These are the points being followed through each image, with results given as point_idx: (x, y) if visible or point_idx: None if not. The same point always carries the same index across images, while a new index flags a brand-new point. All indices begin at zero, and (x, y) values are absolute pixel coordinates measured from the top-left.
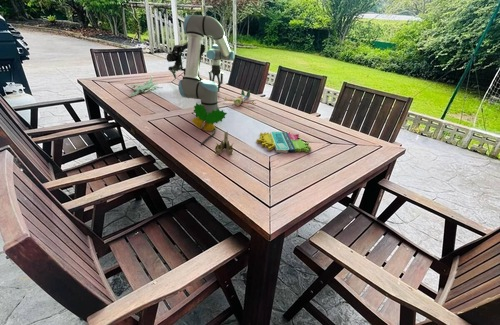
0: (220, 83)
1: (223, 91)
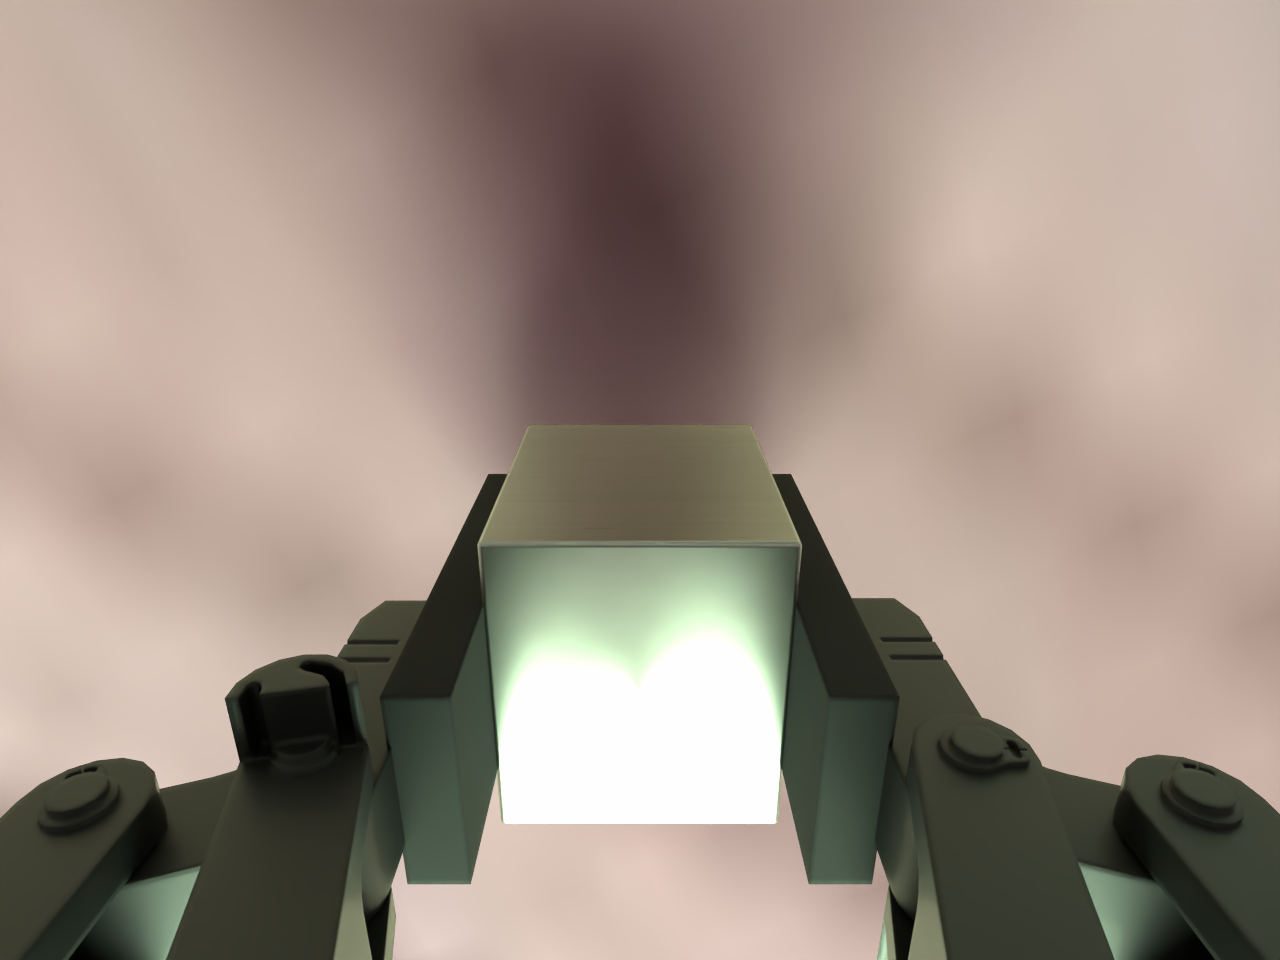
0: (136, 809)
1: None
